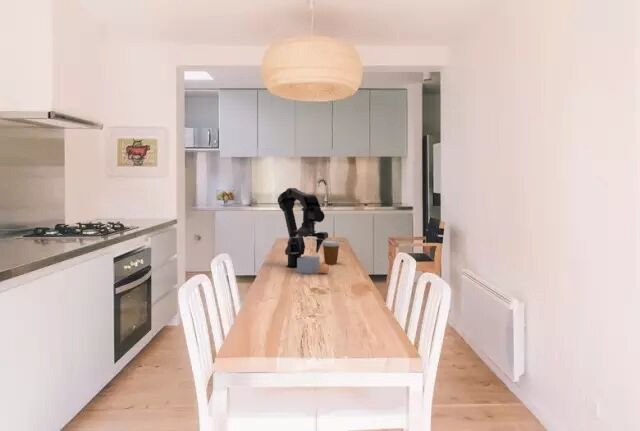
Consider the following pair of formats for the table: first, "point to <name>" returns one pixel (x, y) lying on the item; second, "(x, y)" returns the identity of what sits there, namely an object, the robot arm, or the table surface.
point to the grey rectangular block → (308, 264)
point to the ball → (323, 268)
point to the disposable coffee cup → (330, 251)
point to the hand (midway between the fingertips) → (308, 251)
